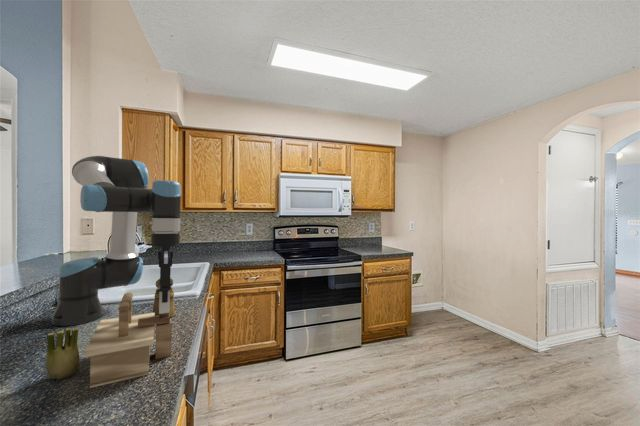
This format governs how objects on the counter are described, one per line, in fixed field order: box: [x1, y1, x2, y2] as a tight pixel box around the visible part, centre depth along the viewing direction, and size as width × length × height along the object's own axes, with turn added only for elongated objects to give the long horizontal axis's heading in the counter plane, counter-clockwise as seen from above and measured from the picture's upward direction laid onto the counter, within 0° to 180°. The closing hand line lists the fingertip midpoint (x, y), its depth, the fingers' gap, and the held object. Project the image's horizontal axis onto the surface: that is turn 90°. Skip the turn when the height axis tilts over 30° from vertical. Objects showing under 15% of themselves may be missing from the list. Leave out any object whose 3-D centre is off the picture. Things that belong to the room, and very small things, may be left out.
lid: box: [83, 292, 155, 358], centre depth 78 cm, size 22×14×11 cm, turn 30°
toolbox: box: [89, 318, 173, 389], centre depth 80 cm, size 20×18×10 cm
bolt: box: [138, 313, 171, 327], centre depth 82 cm, size 3×8×12 cm, turn 120°
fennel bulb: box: [45, 327, 81, 381], centre depth 71 cm, size 6×5×12 cm
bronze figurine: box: [151, 277, 177, 319], centre depth 112 cm, size 9×14×18 cm, turn 29°
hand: (164, 310), depth 83 cm, fingers open, 3 cm apart
